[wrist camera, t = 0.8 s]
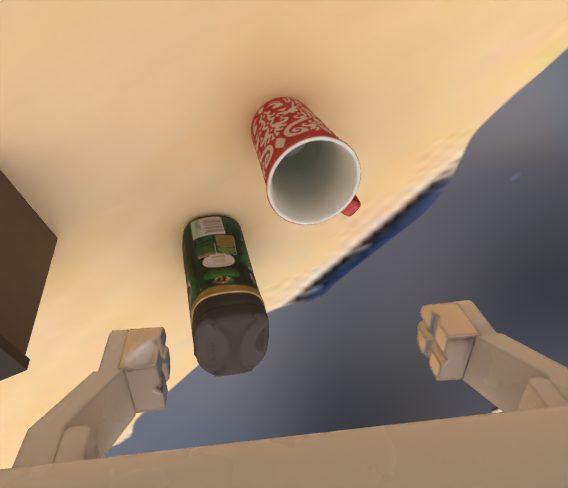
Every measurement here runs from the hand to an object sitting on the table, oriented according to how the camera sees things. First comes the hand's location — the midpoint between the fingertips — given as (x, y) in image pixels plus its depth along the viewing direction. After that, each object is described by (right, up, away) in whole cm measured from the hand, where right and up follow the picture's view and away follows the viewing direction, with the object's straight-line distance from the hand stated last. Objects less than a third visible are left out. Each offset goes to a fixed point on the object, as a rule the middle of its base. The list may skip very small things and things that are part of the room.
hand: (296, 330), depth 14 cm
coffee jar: (-10, +3, +44) cm, 45 cm away
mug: (0, +15, +38) cm, 41 cm away
